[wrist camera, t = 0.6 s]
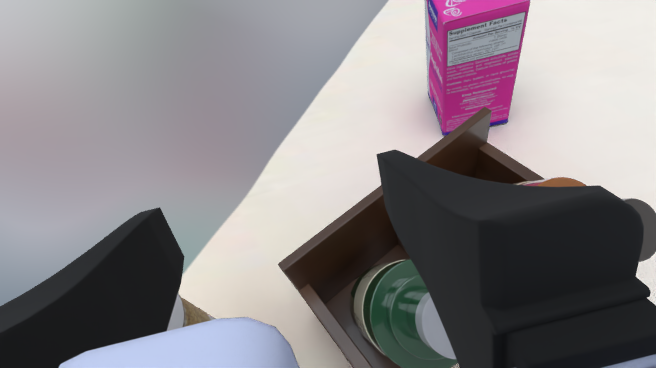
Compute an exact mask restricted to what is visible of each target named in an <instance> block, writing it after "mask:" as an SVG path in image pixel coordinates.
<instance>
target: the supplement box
mask: <svg viewBox="0 0 656 368" xmlns="http://www.w3.org/2000/svg"><path fill="white" fill-rule="evenodd" d="M529 6H530V0H425V27H426V56H427V82H428V95H429V98H430V100H431V102H432V104H433V107H434V110H435V113H436V115H437V118H438V121H439V124H440V127H441V131H442V134H443V135H448V134H449V133H450V132H452V131H453V130H454V129H456V128H457V127H458V126H460V125H461V124H462V123H463V122H465V121H466V120H467V119H469V118H470V117H471V116H473V115H474V114H475V113H477V112H478V111H479V110H481V109H482V108H483V107H487V108H488V109H490V110H492V113H491V119H490V125H489V126H493V125H498V124H503V123H507V122H508V116H509V110H510V105H511V100H512V95H513V89H514V84H515V79H516V74H517V69H518V63H519V58H520V53H521V47H522V42H523V37H524V32H525V27H526V21H527V16H528V11H529Z"/></svg>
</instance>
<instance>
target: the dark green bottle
mask: <svg viewBox="0 0 656 368" xmlns="http://www.w3.org/2000/svg"><path fill="white" fill-rule="evenodd" d="M350 312H351V317H352V320H353V322H354V324H355V326H356V328H357V329H358V331H359V332H360V333H361V334H362V335H363V336H364V337H365V338H366V339H367V340H368V341H369V342H370V343H371V344H372V345H373V346H375V347H376V348H377V349H378V350H379V351H380V352H381V353H383V354H384V355H385V356H387V357H388V358H389V359H390V360H392V361H393V362H394V363H396V364H397V365H398V366H400V367H402V368H451V367H453V366H454V365H456V364H457V363H458V362H457V359H456V357H455V354H454V352H453V349H452V347H451V344H450V342H449V339H448V337H447V334H446V332H445V329H444V327H443V325H442V322H441V320H440V317H439V315H438V313H437V310H436V308H435V306H434V303H433V301H432V299H431V296H430V294H429V292H428V289H427V287H426V285H425V283H424V282H423V280H422V278H421V276H420V274H419V272H418V271H417V269H416V267H415V265H414V264H413V262H412V260H411V259H407V260H399V261H393V262H388V263H384V264H379V265H376V266H373V267H371V268H369V269H368V270H366V271H365V272H364V273H363V274H362V275H360V277H359V278H358V279H357V281H356V282H355V284H354V286H353V288H352V292H351V296H350Z"/></svg>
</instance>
